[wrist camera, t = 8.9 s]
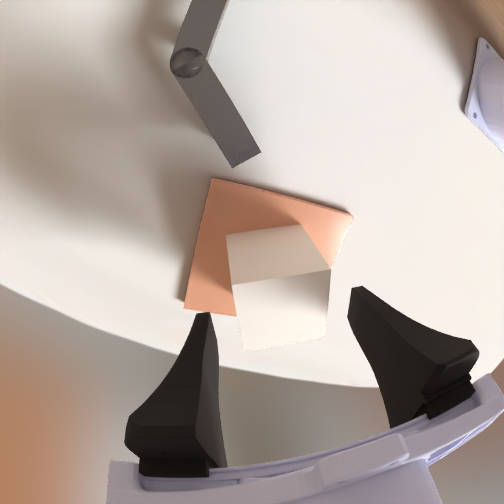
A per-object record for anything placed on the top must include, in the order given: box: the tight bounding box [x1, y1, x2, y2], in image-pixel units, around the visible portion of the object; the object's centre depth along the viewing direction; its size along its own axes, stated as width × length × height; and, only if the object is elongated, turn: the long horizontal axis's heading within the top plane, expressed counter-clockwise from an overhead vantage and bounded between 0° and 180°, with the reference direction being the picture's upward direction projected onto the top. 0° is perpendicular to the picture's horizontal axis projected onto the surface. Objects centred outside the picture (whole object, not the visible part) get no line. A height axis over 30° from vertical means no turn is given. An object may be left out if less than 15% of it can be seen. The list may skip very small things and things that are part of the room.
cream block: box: [226, 224, 331, 352], centre depth 16 cm, size 4×4×5 cm
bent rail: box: [170, 0, 261, 168], centre depth 11 cm, size 5×10×4 cm, turn 163°
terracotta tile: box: [184, 178, 354, 316], centre depth 18 cm, size 9×9×1 cm
